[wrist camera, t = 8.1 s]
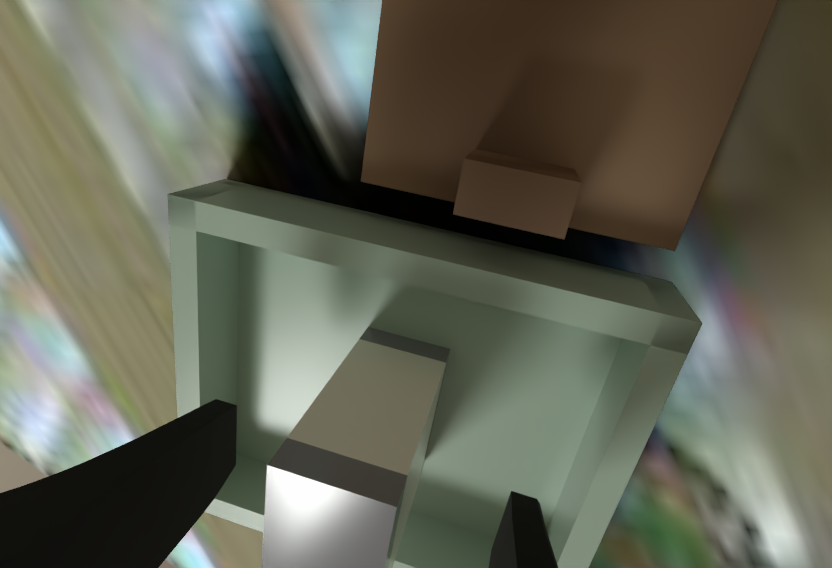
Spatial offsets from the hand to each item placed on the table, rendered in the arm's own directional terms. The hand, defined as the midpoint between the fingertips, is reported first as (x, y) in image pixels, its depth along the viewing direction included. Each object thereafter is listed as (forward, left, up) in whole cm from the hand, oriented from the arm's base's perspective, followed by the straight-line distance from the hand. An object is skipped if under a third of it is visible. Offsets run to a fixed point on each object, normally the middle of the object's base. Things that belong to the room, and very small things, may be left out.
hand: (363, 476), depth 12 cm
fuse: (0, 0, -4) cm, 4 cm away
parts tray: (0, 0, -4) cm, 4 cm away
